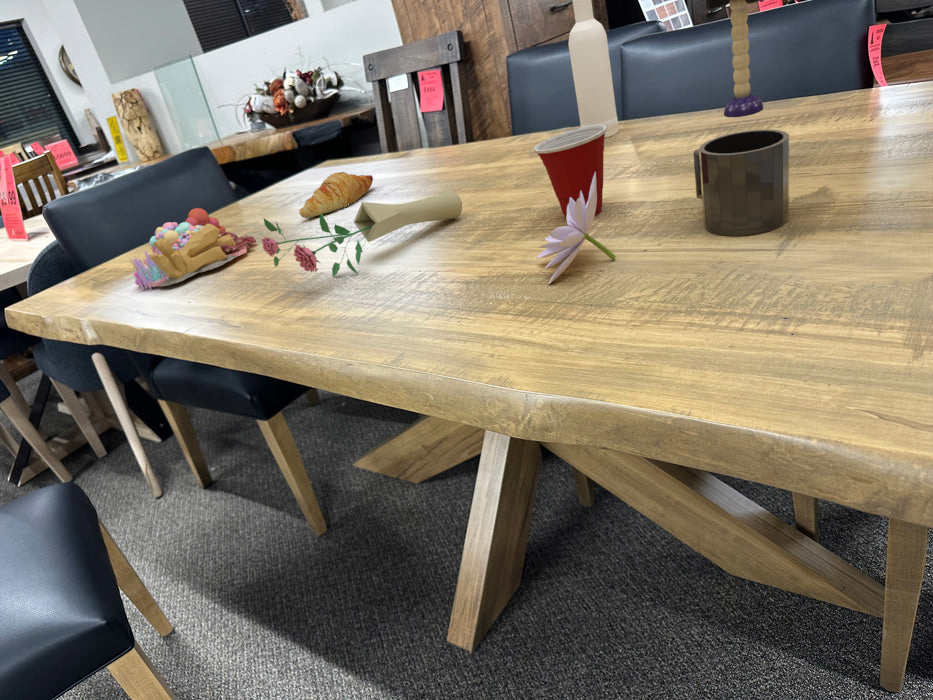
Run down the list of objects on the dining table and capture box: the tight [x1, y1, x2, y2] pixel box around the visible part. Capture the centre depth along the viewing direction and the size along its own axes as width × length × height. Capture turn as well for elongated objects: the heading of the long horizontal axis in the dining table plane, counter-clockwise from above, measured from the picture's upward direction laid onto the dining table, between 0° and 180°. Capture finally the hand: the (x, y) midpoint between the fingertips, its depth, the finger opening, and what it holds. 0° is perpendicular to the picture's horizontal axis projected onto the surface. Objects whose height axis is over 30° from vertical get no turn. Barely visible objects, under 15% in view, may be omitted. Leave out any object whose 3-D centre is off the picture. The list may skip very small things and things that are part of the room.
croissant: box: [298, 171, 374, 219], centre depth 141 cm, size 21×10×8 cm, turn 141°
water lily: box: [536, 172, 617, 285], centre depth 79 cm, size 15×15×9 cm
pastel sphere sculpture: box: [129, 207, 257, 291], centre depth 125 cm, size 25×24×9 cm
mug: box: [692, 128, 790, 237], centre depth 79 cm, size 13×10×10 cm
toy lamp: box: [723, 0, 764, 118], centre depth 70 cm, size 5×5×17 cm
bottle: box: [568, 0, 620, 139], centre depth 133 cm, size 8×8×30 cm
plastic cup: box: [533, 125, 607, 218], centre depth 95 cm, size 11×11×12 cm
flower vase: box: [261, 190, 463, 277], centre depth 101 cm, size 12×12×35 cm
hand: (738, 1), depth 69 cm, fingers closed on toy lamp, 4 cm apart
